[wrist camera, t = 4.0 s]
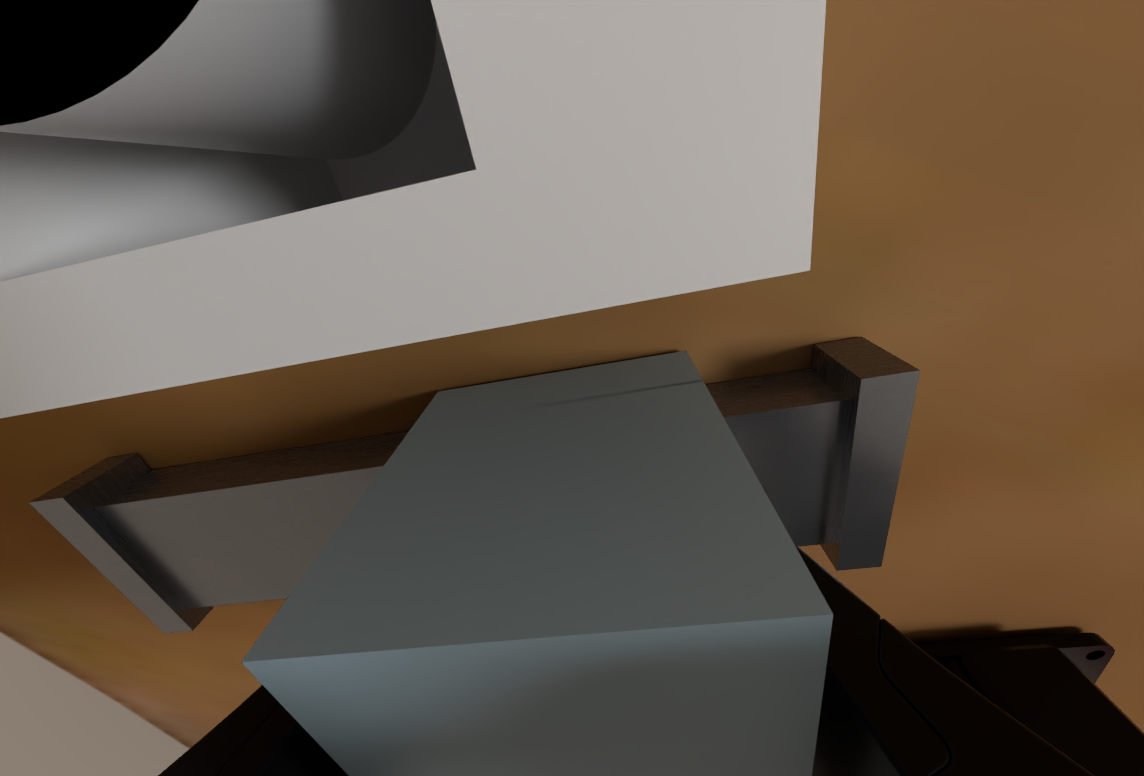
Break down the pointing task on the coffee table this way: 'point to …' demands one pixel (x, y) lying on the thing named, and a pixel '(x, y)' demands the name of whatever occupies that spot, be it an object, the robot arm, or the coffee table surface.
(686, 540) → the block
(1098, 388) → the coffee table surface
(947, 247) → the coffee table surface
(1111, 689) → the coffee table surface
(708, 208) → the cabinet
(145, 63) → the button
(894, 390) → the rail
